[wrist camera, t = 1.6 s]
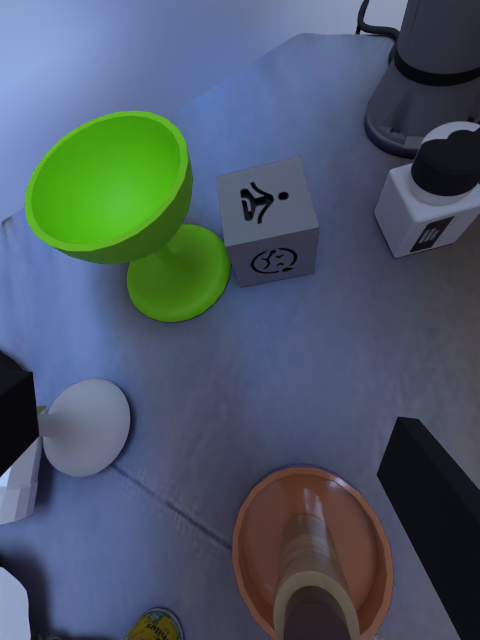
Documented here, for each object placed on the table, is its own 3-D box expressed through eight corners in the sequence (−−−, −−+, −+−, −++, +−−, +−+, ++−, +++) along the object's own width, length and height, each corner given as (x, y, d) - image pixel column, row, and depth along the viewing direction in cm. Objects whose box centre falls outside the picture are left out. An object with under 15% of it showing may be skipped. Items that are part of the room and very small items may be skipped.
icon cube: (232, 228, 44) (298, 213, 43) (240, 287, 41) (313, 273, 40) (215, 176, 35) (300, 155, 34) (224, 246, 32) (319, 227, 30)
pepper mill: (281, 511, 31) (269, 583, 17) (331, 514, 30) (361, 592, 16) (283, 570, 29) (271, 702, 15) (335, 575, 28) (374, 719, 14)
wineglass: (146, 221, 48) (65, 111, 31) (241, 229, 44) (208, 109, 27) (112, 313, 43) (-5, 242, 26) (215, 330, 39) (155, 261, 23)
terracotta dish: (239, 461, 34) (233, 465, 30) (371, 465, 31) (380, 470, 28) (237, 621, 29) (230, 646, 26) (393, 640, 27) (407, 670, 23)
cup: (-30, 408, 32) (-64, 525, 29) (26, 408, 32) (-2, 528, 28) (19, 409, 39) (-5, 506, 35) (66, 410, 38) (47, 509, 34)
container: (455, 243, 38) (530, 157, 26) (393, 259, 38) (438, 183, 26) (429, 197, 40) (486, 100, 28) (372, 213, 41) (404, 125, 29)
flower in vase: (47, 474, 37) (-375, 558, 14) (64, 381, 41) (-243, 324, 18) (144, 475, 35) (-158, 576, 12) (153, 377, 39) (-62, 307, 15)
